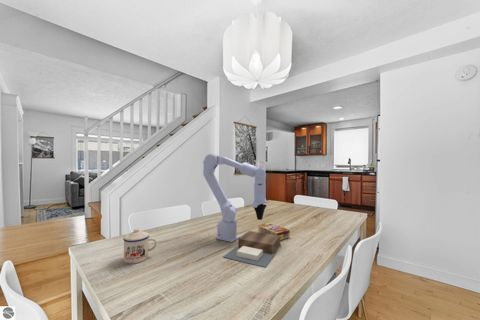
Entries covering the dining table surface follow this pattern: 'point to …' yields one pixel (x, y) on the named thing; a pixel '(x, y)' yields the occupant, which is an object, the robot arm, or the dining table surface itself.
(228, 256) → the slate mat
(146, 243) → the teacup with lid
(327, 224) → the dining table surface
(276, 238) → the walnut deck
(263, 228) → the candy box
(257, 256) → the cream rectangular block
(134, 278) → the dining table surface
